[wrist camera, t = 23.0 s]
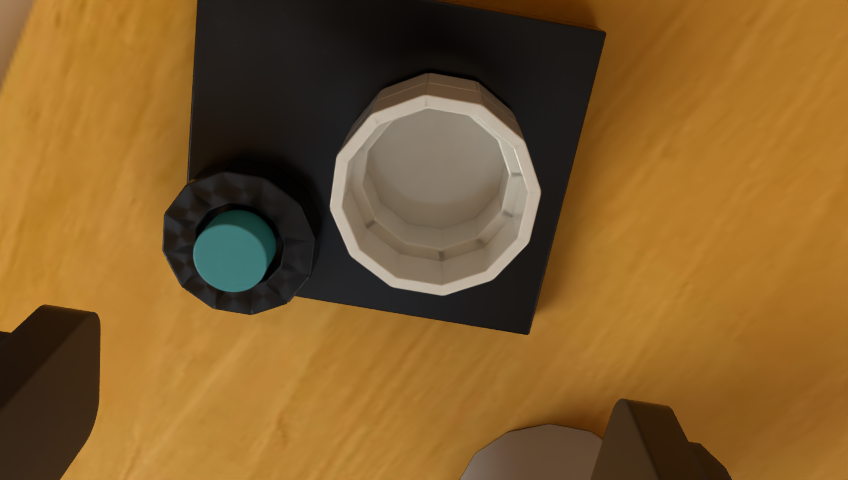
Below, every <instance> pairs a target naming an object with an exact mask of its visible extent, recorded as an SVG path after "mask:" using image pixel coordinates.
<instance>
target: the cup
mask: <svg viewBox="0 0 848 480" xmlns="http://www.w3.org/2000/svg"><path fill="white" fill-rule="evenodd" d="M602 441H603V440H602V439H601V438H599V437H598V436H596V435H595V434H593V433H592V432H590V431H584V430H579V429H573V428H568V427H563V426H557V425H552V424H547V425H542V426H537V427H532V428H527V429H522V430H517V431H512V432H507V433H506V434H504V435H503V436H501V437H500V438H498V439H497V440H495V441H494V442H492V443H491V444H489V445H488V446H486V447H485V448H483V449H482V450H480V451H479V452H477V453H476V454H475V455H474V456H473V458H472V460H471V461H470V463H469V465H468V467H467V468H466V470H465V472H464V474H463V475H462V477H461V479H460V480H590V479H591V475H592V472H593V469H594V466H595V463H596V460H597V457H598V454H599V451H600V447H601V444H602Z"/></svg>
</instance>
